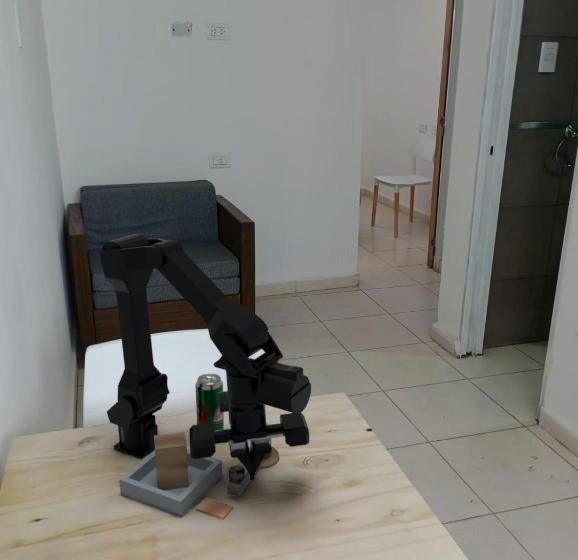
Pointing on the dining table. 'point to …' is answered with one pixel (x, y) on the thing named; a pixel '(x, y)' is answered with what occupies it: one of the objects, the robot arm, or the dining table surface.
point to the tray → (174, 501)
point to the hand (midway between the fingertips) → (252, 478)
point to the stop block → (171, 461)
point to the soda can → (209, 400)
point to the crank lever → (239, 478)
